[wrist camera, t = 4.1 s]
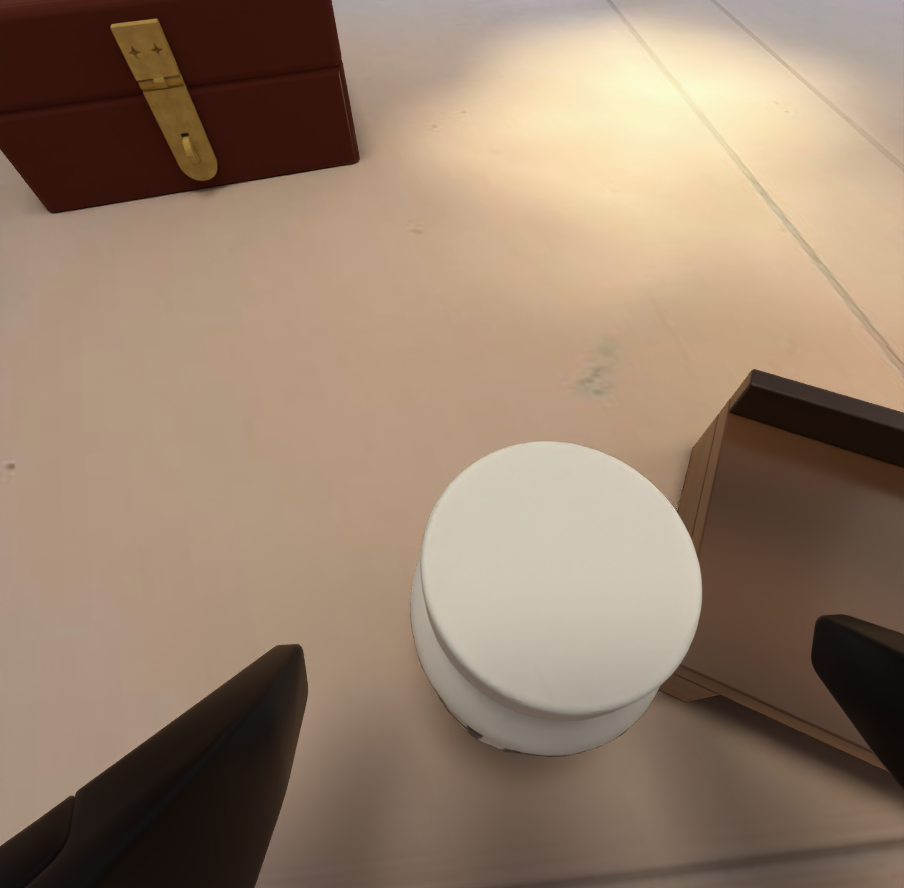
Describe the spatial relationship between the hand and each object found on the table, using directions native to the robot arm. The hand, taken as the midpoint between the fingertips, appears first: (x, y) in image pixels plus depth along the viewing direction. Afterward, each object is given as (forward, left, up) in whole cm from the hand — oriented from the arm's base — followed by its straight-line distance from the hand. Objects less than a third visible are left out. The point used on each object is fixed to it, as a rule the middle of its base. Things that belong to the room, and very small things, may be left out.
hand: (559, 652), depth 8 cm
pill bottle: (+1, +1, -9) cm, 9 cm away
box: (+25, +35, -9) cm, 44 cm away
